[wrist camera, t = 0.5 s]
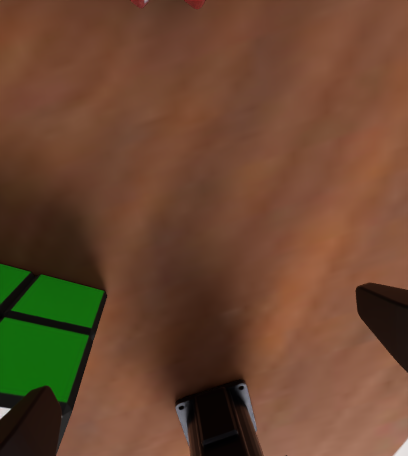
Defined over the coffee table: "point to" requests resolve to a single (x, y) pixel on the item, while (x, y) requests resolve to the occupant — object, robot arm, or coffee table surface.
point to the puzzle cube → (45, 336)
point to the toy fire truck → (194, 0)
